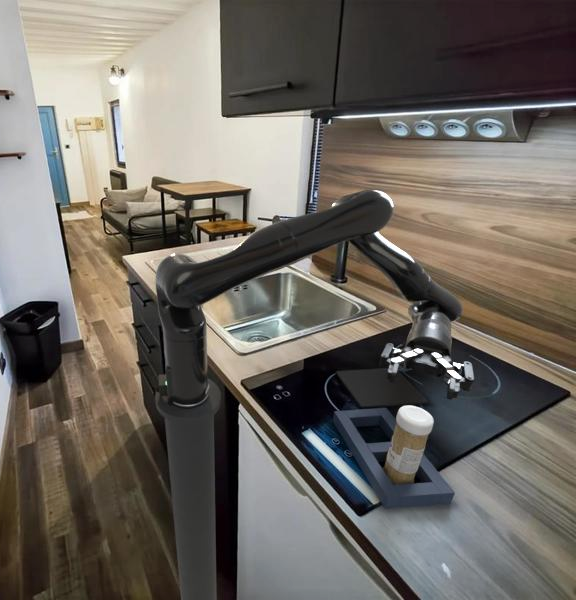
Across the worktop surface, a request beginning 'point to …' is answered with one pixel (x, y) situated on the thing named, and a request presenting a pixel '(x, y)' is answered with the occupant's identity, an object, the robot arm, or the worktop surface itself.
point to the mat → (380, 388)
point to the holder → (370, 454)
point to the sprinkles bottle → (407, 444)
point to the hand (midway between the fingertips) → (420, 386)
